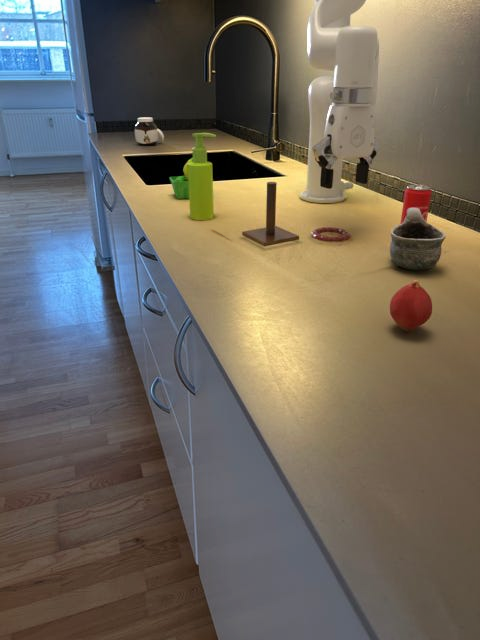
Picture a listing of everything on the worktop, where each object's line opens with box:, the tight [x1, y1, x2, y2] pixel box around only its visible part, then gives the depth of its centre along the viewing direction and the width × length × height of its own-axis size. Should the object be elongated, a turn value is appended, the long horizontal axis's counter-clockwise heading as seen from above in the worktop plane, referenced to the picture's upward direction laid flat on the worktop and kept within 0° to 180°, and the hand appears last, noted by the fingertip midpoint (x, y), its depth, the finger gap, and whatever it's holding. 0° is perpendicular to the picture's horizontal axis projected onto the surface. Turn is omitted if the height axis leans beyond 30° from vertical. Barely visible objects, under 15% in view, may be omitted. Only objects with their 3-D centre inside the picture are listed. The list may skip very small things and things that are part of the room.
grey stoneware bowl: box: [389, 208, 447, 271], centre depth 97 cm, size 10×12×10 cm
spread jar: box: [134, 116, 165, 147], centre depth 236 cm, size 12×11×12 cm
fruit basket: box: [169, 157, 193, 200], centre depth 145 cm, size 11×9×11 cm
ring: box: [310, 226, 351, 243], centre depth 113 cm, size 8×8×2 cm
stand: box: [241, 181, 300, 247], centre depth 109 cm, size 9×9×12 cm
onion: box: [389, 279, 433, 332], centre depth 73 cm, size 6×6×8 cm
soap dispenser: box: [188, 132, 217, 221], centre depth 124 cm, size 6×7×20 cm
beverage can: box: [399, 184, 432, 225], centre depth 108 cm, size 5×5×12 cm
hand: (343, 185), depth 109 cm, fingers open, 9 cm apart
